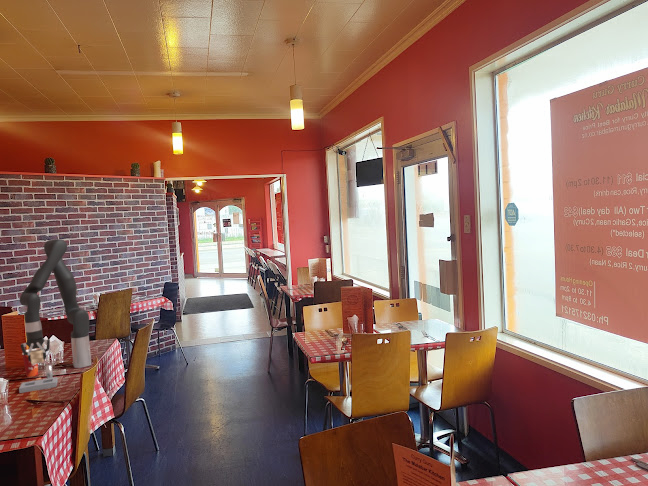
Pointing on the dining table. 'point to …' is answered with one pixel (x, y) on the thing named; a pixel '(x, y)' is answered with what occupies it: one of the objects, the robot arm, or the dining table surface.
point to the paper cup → (30, 366)
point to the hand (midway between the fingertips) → (37, 360)
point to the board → (38, 385)
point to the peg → (49, 371)
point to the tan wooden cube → (36, 356)
